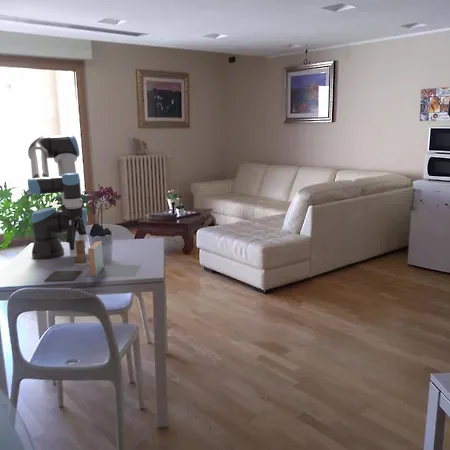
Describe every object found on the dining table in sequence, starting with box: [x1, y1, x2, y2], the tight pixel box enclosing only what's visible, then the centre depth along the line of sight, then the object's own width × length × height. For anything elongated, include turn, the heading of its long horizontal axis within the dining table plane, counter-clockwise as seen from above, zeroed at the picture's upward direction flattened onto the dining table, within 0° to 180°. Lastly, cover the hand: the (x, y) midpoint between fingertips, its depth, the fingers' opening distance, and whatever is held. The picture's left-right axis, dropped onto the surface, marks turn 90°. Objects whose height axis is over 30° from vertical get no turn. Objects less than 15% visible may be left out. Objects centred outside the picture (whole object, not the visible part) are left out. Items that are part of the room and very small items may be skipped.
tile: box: [87, 240, 105, 276], centre depth 205 cm, size 12×2×12 cm, turn 0°
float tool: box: [73, 239, 90, 267], centre depth 218 cm, size 8×10×11 cm
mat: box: [83, 264, 142, 278], centre depth 206 cm, size 15×22×1 cm
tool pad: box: [43, 270, 82, 283], centre depth 200 cm, size 12×12×1 cm
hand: (78, 252), depth 218 cm, fingers open, 13 cm apart
